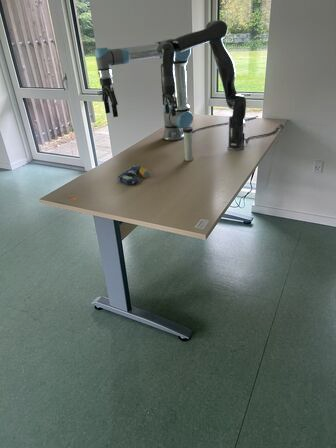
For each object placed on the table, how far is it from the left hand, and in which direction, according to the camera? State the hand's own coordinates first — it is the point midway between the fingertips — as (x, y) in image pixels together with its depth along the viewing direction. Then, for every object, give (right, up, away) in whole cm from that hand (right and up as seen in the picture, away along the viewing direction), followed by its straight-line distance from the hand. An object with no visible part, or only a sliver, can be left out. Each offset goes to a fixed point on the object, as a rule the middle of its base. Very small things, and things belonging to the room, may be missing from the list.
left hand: (111, 114), depth 206 cm
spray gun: (+16, -41, -16) cm, 47 cm away
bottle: (+48, -27, +3) cm, 55 cm away
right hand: (+36, -5, -16) cm, 40 cm away
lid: (+46, -11, -7) cm, 48 cm away
